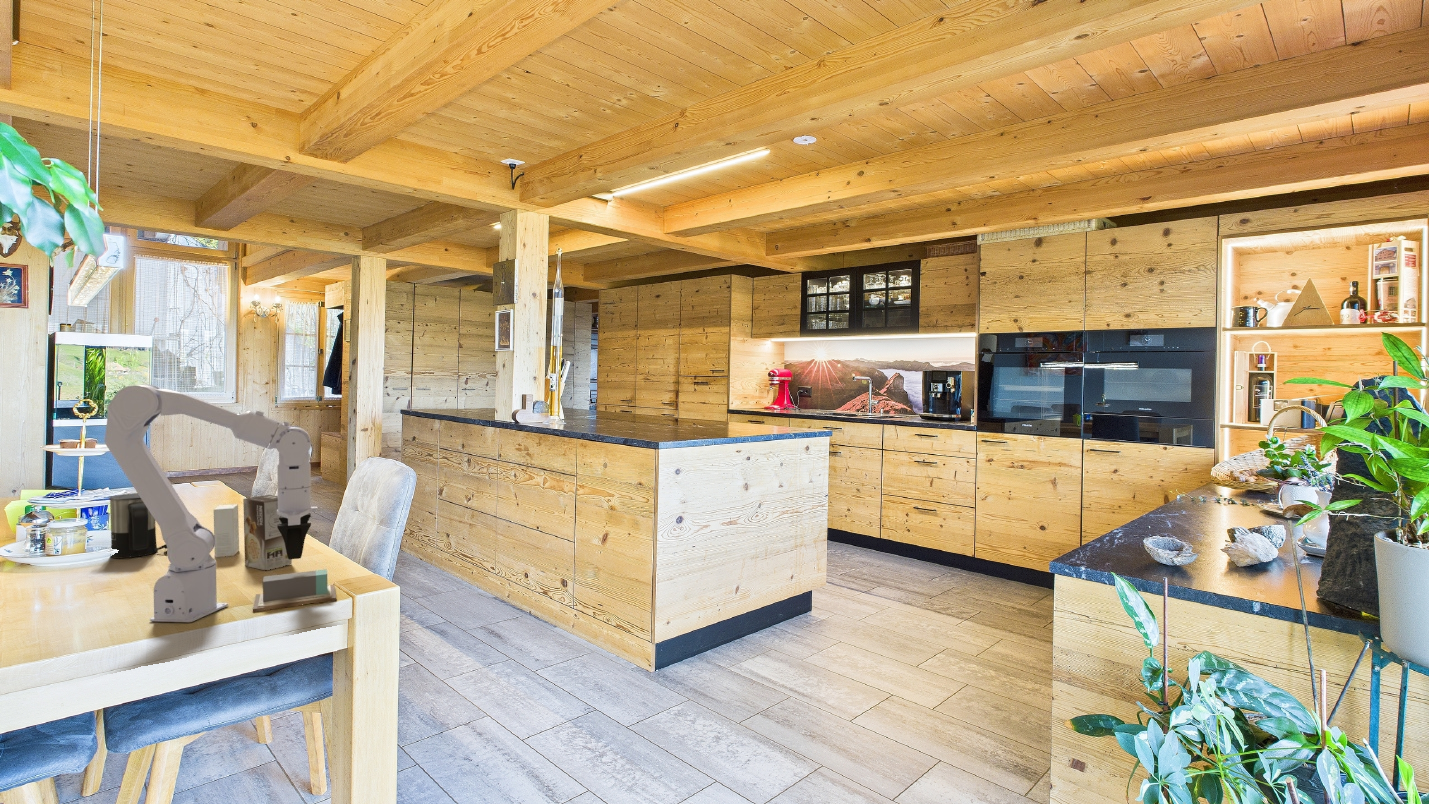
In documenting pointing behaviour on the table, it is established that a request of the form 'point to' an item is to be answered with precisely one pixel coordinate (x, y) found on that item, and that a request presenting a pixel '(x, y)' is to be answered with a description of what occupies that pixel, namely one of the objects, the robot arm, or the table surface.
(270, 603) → the wooden tray
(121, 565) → the table surface
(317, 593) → the gray teal block
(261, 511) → the coffee box
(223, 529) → the skincare box
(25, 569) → the table surface
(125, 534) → the milk frother
